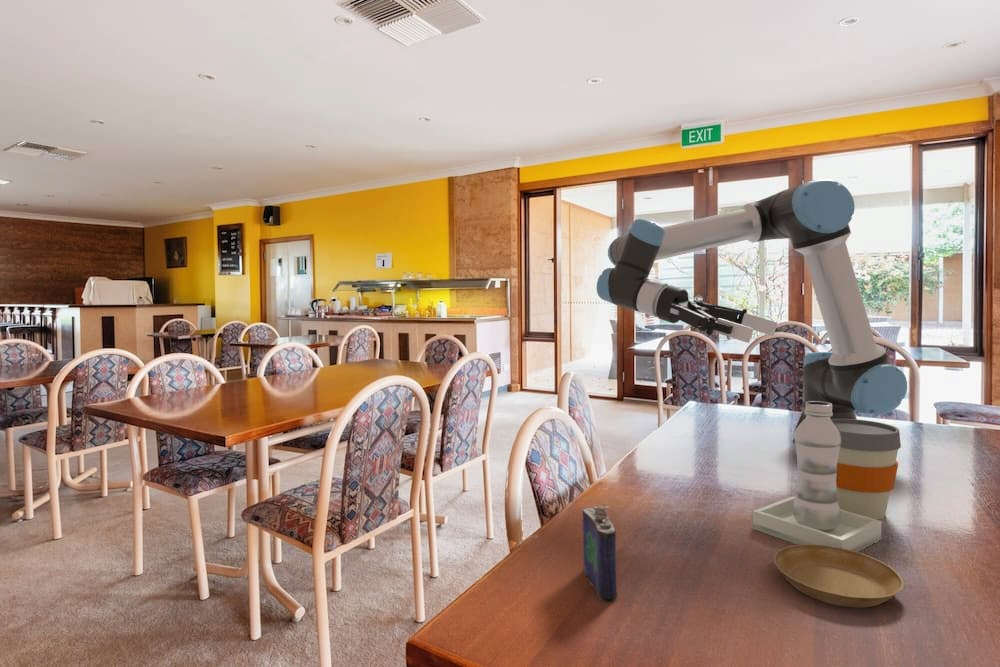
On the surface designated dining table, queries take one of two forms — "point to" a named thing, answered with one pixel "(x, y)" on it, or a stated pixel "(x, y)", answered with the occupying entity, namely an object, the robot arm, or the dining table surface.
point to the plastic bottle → (817, 468)
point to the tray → (848, 534)
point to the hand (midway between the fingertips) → (763, 332)
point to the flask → (600, 552)
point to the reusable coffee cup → (866, 466)
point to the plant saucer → (838, 575)
